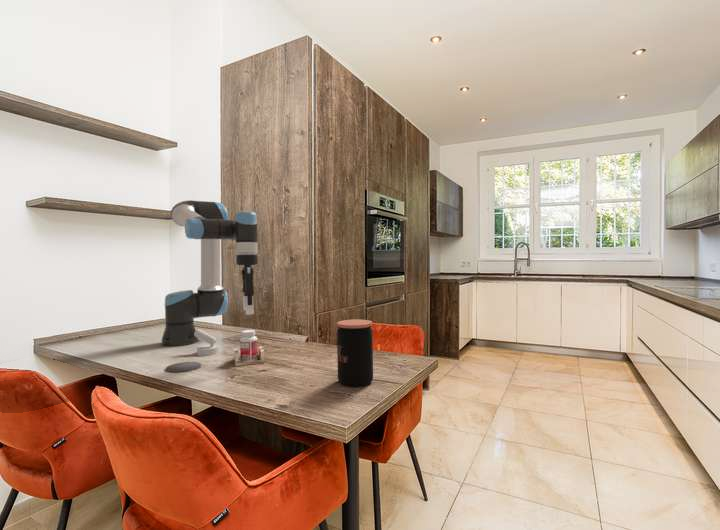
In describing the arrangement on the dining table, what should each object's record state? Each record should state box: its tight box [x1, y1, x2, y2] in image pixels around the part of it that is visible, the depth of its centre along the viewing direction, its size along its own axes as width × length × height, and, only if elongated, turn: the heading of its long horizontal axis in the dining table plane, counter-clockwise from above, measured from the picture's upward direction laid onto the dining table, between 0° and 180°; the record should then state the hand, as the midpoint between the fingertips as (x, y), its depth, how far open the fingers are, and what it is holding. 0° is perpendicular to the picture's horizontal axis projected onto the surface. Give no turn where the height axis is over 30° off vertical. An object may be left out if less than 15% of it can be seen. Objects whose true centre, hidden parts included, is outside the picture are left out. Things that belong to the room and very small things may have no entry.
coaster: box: [165, 361, 202, 373], centre depth 133 cm, size 11×11×1 cm
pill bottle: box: [239, 329, 259, 362], centre depth 141 cm, size 6×6×11 cm
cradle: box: [233, 346, 266, 367], centre depth 141 cm, size 10×10×4 cm
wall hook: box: [194, 328, 221, 357], centre depth 154 cm, size 9×10×10 cm
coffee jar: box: [336, 318, 374, 388], centre depth 115 cm, size 11×11×18 cm
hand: (248, 312), depth 140 cm, fingers open, 13 cm apart
